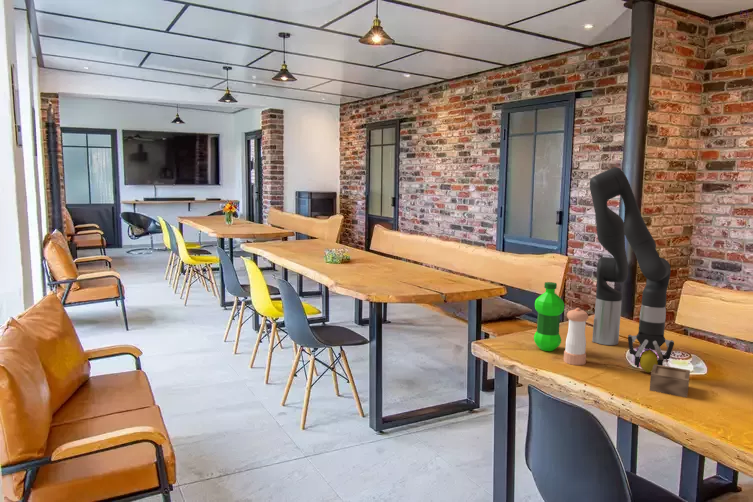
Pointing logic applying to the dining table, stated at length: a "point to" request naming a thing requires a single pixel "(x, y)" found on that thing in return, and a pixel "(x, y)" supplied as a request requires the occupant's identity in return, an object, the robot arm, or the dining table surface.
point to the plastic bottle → (548, 318)
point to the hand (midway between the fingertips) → (648, 368)
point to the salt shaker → (576, 338)
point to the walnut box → (669, 380)
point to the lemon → (648, 360)
